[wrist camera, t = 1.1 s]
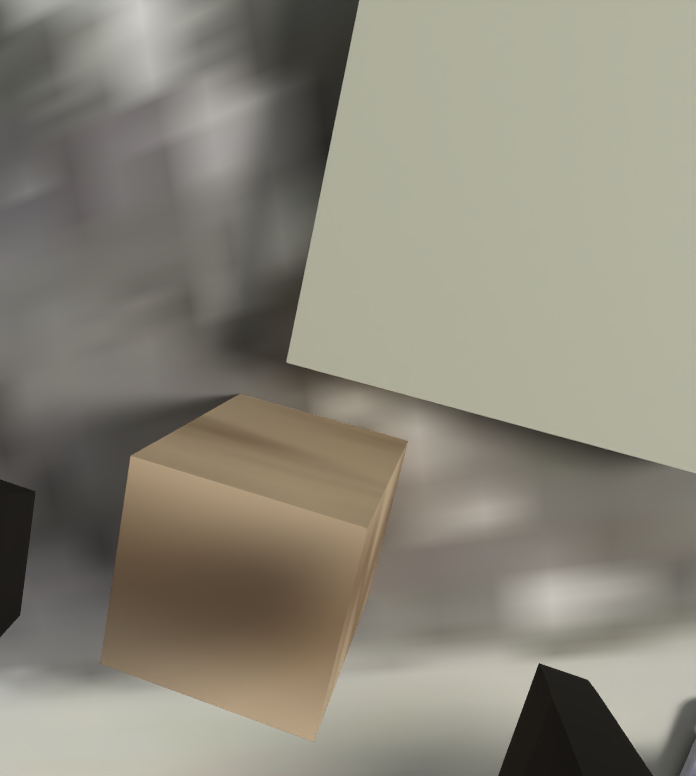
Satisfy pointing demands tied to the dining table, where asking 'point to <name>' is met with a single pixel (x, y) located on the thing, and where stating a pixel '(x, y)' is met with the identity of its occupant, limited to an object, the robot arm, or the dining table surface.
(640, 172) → the sage slab
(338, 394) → the dining table surface
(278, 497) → the maple block
